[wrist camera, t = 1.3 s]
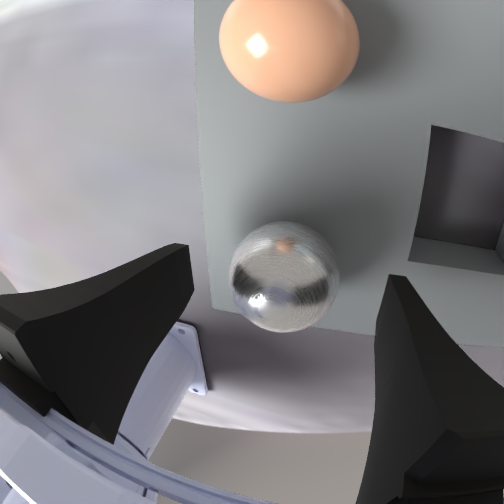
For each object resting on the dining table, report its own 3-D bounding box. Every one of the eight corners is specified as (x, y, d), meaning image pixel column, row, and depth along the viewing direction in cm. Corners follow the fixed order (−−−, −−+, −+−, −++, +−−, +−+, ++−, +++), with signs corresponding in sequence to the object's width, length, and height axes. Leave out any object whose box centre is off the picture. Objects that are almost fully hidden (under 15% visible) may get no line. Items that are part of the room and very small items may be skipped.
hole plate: (228, 281, 18) (212, 308, 16) (218, -17, 10) (194, -33, 8) (504, 319, 14) (516, 347, 12) (562, 43, 6) (589, 42, 4)
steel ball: (248, 282, 15) (216, 342, 11) (246, 200, 13) (205, 246, 9) (335, 296, 13) (325, 364, 10) (348, 211, 12) (344, 266, 8)
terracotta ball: (245, 100, 11) (196, 107, 7) (243, 1, 9) (194, -32, 5) (356, 105, 10) (361, 112, 6) (356, 1, 8) (358, -42, 4)
